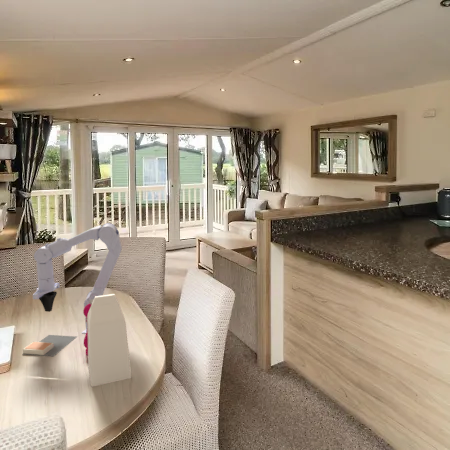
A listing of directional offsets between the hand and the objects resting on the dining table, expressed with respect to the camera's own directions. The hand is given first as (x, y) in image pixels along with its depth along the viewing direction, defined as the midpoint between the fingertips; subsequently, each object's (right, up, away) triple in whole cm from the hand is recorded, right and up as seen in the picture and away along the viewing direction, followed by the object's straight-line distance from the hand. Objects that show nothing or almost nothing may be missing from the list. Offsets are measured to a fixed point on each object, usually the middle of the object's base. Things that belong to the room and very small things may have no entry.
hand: (48, 310), depth 151 cm
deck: (+2, -10, -9) cm, 14 cm away
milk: (+32, -14, -27) cm, 44 cm away
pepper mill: (+23, -12, -14) cm, 30 cm away
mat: (+5, -11, -8) cm, 15 cm away
